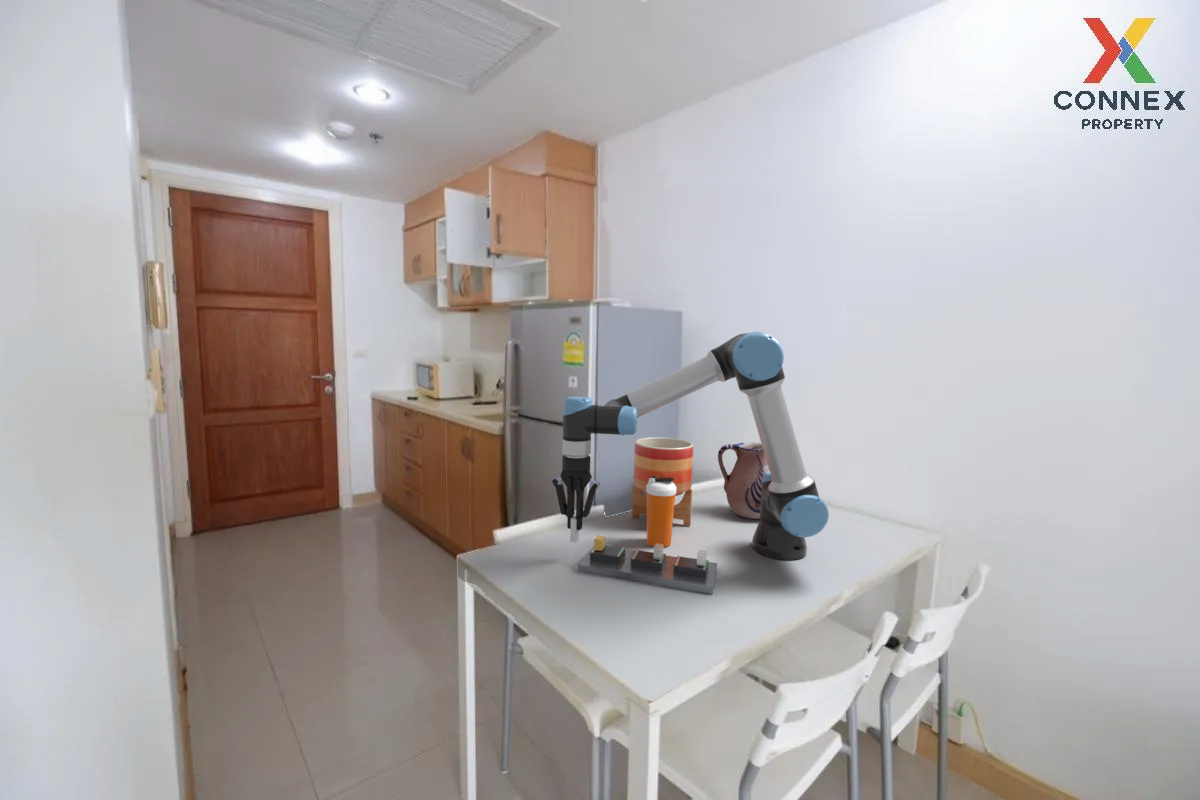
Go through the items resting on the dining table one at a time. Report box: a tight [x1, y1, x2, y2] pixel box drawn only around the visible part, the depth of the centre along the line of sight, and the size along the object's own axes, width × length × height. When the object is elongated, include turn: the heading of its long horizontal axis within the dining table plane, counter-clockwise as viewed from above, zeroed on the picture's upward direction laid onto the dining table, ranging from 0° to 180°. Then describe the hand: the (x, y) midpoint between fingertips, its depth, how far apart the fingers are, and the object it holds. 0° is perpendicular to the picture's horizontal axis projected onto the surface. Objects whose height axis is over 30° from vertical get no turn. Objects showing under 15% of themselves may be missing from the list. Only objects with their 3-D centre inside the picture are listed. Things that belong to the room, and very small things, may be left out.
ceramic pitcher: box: [717, 442, 770, 520], centre depth 180 cm, size 18×21×25 cm
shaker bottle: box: [645, 475, 676, 548], centre depth 152 cm, size 9×9×20 cm
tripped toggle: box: [593, 534, 606, 551], centre depth 137 cm, size 2×3×3 cm, turn 163°
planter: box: [631, 436, 694, 528], centre depth 171 cm, size 20×20×27 cm
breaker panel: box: [576, 543, 718, 595], centre depth 134 cm, size 34×14×7 cm, turn 73°
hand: (574, 540), depth 140 cm, fingers closed
